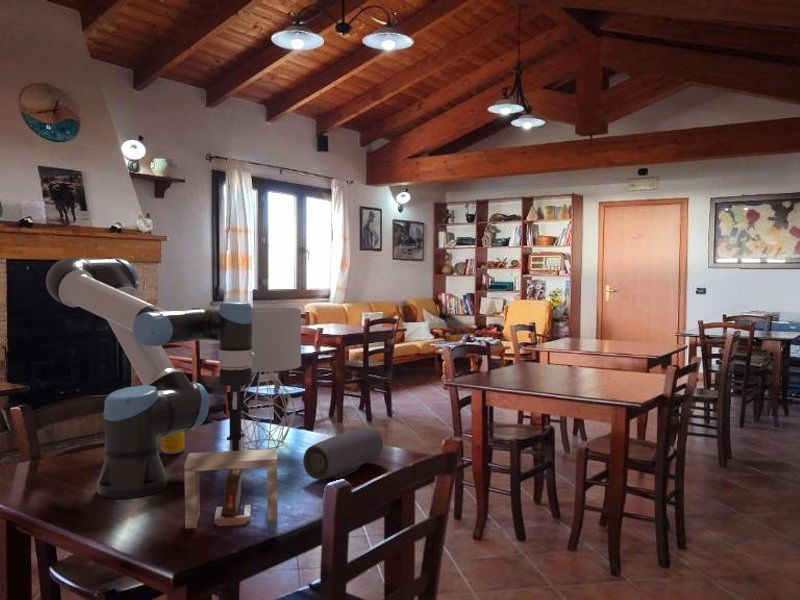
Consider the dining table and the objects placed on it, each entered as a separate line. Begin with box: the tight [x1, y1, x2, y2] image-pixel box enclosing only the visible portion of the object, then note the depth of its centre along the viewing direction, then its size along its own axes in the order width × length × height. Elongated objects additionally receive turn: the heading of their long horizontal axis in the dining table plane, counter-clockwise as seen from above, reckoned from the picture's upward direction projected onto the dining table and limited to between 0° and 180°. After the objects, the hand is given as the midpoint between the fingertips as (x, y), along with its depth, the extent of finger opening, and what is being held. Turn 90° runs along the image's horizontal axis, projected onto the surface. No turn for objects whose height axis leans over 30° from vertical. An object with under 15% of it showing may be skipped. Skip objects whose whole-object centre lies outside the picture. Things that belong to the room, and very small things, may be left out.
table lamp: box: [241, 306, 302, 450], centre depth 196 cm, size 22×22×40 cm
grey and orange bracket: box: [213, 504, 252, 527], centre depth 138 cm, size 7×8×2 cm
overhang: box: [184, 448, 278, 530], centre depth 138 cm, size 18×8×13 cm, turn 101°
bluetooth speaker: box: [302, 426, 384, 481], centre depth 169 cm, size 23×9×10 cm, turn 148°
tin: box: [222, 468, 244, 516], centre depth 143 cm, size 15×3×8 cm, turn 8°
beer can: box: [161, 431, 185, 455], centre depth 189 cm, size 6×6×15 cm
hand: (235, 465), depth 159 cm, fingers closed
